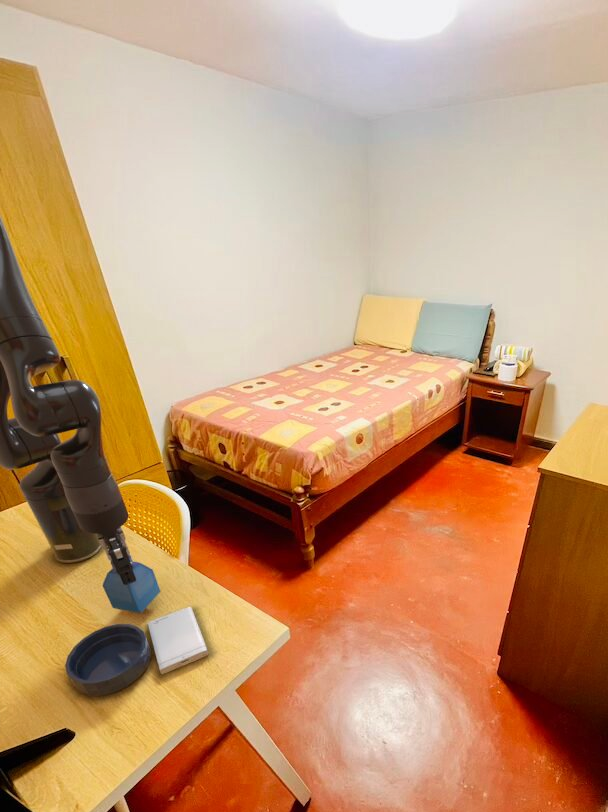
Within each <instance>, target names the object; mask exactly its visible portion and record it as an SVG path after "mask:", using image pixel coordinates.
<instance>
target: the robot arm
mask: <svg viewBox="0 0 608 812" xmlns="http://www.w3.org/2000/svg"><path fill="white" fill-rule="evenodd" d="M60 362H61V354H60V351H59V348H58V346H57V345H56V344H55V341H54V339H53V337H52V336H51V333H50V332H49V330H48V327H47V325H46V324H45V322H44V320H43V318H42V316H41V315H40V312H39V310H38V309H37V306H36V305H35V302H34V300H33V298H32V295H31V293H30V291H29V288H28V285H27V284H26V281H25V278H24V275H23V272H22V270H21V266H20V264H19V261H18V258H17V256H16V253H15V250H14V247H13V244H12V242H11V239H10V237H9V234H8V231H7V229H6V226H5V224H4V221H3V219H2V215H0V467H2V468H4V469H5V470H9V471H15V470H20V469H23V468H26V467H30V466H33V465H35V464H36V465H35V467H33V468H32V469H31V470H30V471H29V472H28V473H27V474H26V475H24V476H23V477H22V478H21V479H20V482H19V489H20V491H21V493H22V495H23V497H24V498H25V501H26V502H27V505H28V506H29V508H30V510H31V512H32V514H33V516H34V518H35V520H36V522H37V523H38V526H39V527H40V529H41V531H42V533H43V535H44V537H45V539H46V540H47V543H48V545H49V547H50V548H51V550H52V553H53V556H54V558H55V560H57V561H58V562H60V563H63V564H73V563H78V562H79V563H80V562H82V561H85V560H87V559H90V558H92V557H93V556H94V555H96V554H97V553H99V552H100V550H101V549H102V548H103V549H104V552H105V554H106V557H107V559H108V561H109V562H111V561H113V563H114V566H115V570H116V573H118V575H120V577H121V580H122V582H123V584H124V585H127V584H128V583H133V582H135V581H136V577H135V575H134V572H133V565H132V563H131V562H130V560H129V557H128V555H131V552H130V550H129V547H128V544H127V542H126V539H127V538H126V536H125V533H124V531H123V529H122V526H123V525H125V524H126V523H127V521H128V520H129V512H128V509H127V507H126V504H125V501H124V498H123V496H122V492H121V490H120V487H119V485H118V481H117V480H116V479H115V476H114V475H113V473H112V470H111V468H110V465H109V462H108V459H107V457H106V454H105V451H104V446H103V434H102V405H101V402H100V398H99V396H98V394H97V393H96V391H95V390H94V388H93V387H91V386H90V385H89V384H88V383H86V382H85V381H84V380H83V381H82V380H80V379H77V378H76V379H66V380H65V379H64V380H61V381H57V382H56V381H55V382H48V383H43V384H37V385H33V384H32V382H31V380H33V378H34V377H36V376H37V375H39V374H41V373H42V374H43V373H45V372H47V371H49V370H51V369H53V368H55V367H57V366H58V365H59V364H60ZM9 401H11V408H12V412H13V416H14V417H11V418H9V416H8V405H9ZM75 430H76V431H75ZM71 431H75V434H74V435H73V436H72V437H70V438H68V439H66V440H65V441H63V442H62V440H61V438H60V437H61V436H60V435H59V434H62V433H66V432H71Z"/></svg>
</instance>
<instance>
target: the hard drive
mask: <svg viewBox="0 0 608 812" xmlns="http://www.w3.org/2000/svg"><path fill="white" fill-rule="evenodd" d="M147 627H148V631H149V635H150V638H151V642H152V647H153V650H154V654H155V659H156V661H157V666H158V669H159V672H160V674H161V675H164V674H167V673H169V672H172V671H174V670H176V669H179V668H181V667H184V666H185V665H188V664H190V663H193V662H195V661H197V660H200V659H202V658H204V657H207V656H208V655H209V650H208V647H207V644H206V642H205V639H204V636H203V634H202V632H201V629H200V626H199V624H198V620H197V618H196V616H195V613H194V610H193V607H192V606H187V607H185V608H182V609H180V610H177V611H174V612H171V613H169V614H166V615H163V616H161V617H158V618H156V619H153V620H151V621H148V622H147Z"/></svg>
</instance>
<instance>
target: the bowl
mask: <svg viewBox="0 0 608 812" xmlns="http://www.w3.org/2000/svg"><path fill="white" fill-rule="evenodd" d="M151 660H152V648H151V646H150V643H149V641H148V638H147V636H146V633H145V631H143V629H141V628H140V627H139V626H136V625H134V624H130V623H116V624H112V625H106V626H105V627H102V628H99V629H97V630H94V631H93V632H91V633H89V634H88V635H86V636H85V637H83V638H82V639H81V640H80V641H78V642H77V644H75V645H74V646H73V648H72V649H71V651H70V652H69V654H68V655H67V657H66V661H65V664H64V668H65V673H66V675H67V677H68V679H69V680H70V682H71V684H72V685H73V686H74V688H75V689H76V690H77V691H78V692H79V693H80V694H83V695H86V696H88V697H102V696H106V695H111V694H114V693H117V692H119V691H121V690H123V689H126V688H127V687H129V686H130V685H132V684H133V683H134V682H135V681H137V680H138V679H139V678H141V676H142V675H143V673H145V671H146V670H147V668H148V666H149V665H150V663H151Z"/></svg>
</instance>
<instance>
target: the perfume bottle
mask: <svg viewBox="0 0 608 812" xmlns="http://www.w3.org/2000/svg"><path fill="white" fill-rule="evenodd" d="M128 557H129V560H130V562H131V563H132V565H133V572H134V575H135V577H136V581H135V582H133V583H128V584H127V585H124V584H123V582H122V580H121V577H120V575H118V573H116V570H115V566H114V563H113V561H110V566H111V567H112V568H111V569H110V570H109V571H108V572H107V573H106V575H105V578H104V581H103V583H102V588H103V591H104V592H105V594H106V596H107V598H108V601H109V603H110V605H111V607H112V608H113V609H117V610H120V611H125V612H131V613H135V614H139V615H140V614H142V613H143V612H144V611H145V610H146V609H147V607H148V606H149V605H150V604H151V603H152V602H153V601H154V600H155V599H156V597H157V596H158V595H159V594H160V593H161V589H160V586H159V583H158V580H157V578H156V575H155V572H154V570H153V568H151V567H149V566H147V565H145V564H143V562H138V561H134V560H133V558H132V556H131V554H129V555H128Z"/></svg>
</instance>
